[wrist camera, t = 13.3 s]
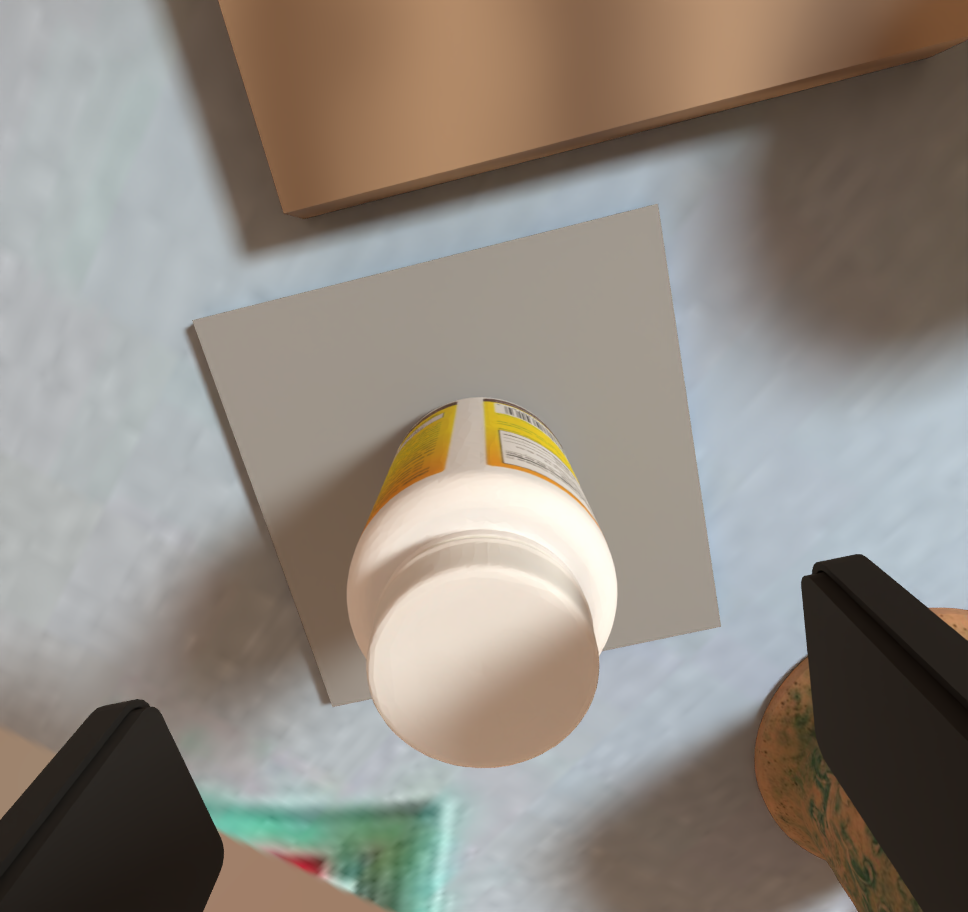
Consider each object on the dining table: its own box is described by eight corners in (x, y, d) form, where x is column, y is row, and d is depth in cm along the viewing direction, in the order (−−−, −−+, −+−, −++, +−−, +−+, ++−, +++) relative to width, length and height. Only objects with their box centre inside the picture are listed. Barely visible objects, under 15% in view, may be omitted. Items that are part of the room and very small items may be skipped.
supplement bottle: (398, 558, 21) (327, 810, 11) (389, 393, 20) (298, 522, 10) (566, 556, 21) (639, 806, 11) (571, 391, 20) (660, 517, 10)
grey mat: (653, 205, 19) (657, 203, 18) (715, 619, 22) (720, 626, 22) (199, 319, 19) (191, 320, 19) (335, 697, 23) (332, 706, 23)
